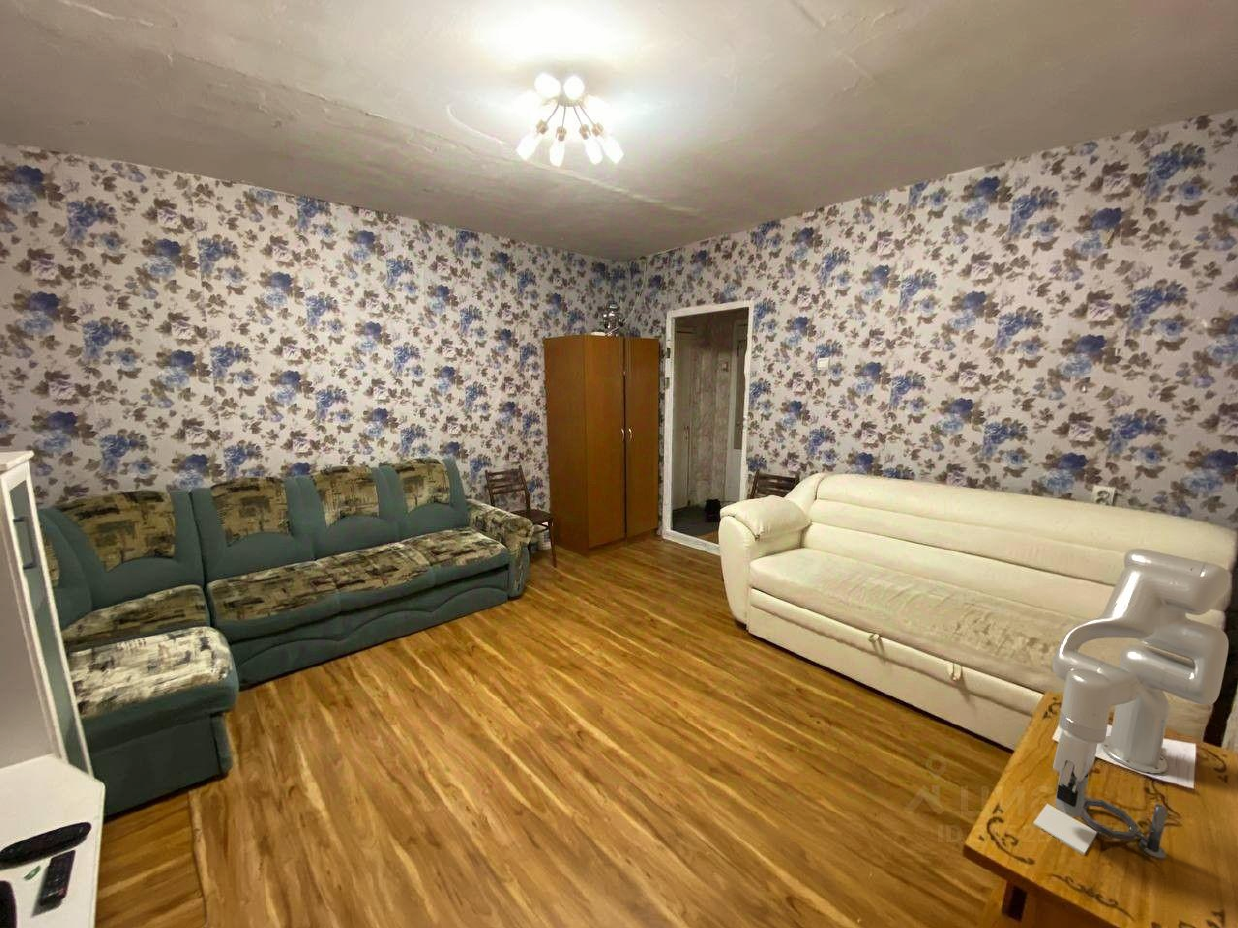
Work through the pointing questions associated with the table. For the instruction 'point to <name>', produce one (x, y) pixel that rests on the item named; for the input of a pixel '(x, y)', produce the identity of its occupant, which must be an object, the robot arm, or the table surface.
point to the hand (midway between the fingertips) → (1070, 795)
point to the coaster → (1065, 828)
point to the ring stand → (1131, 827)
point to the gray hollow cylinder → (1081, 790)
